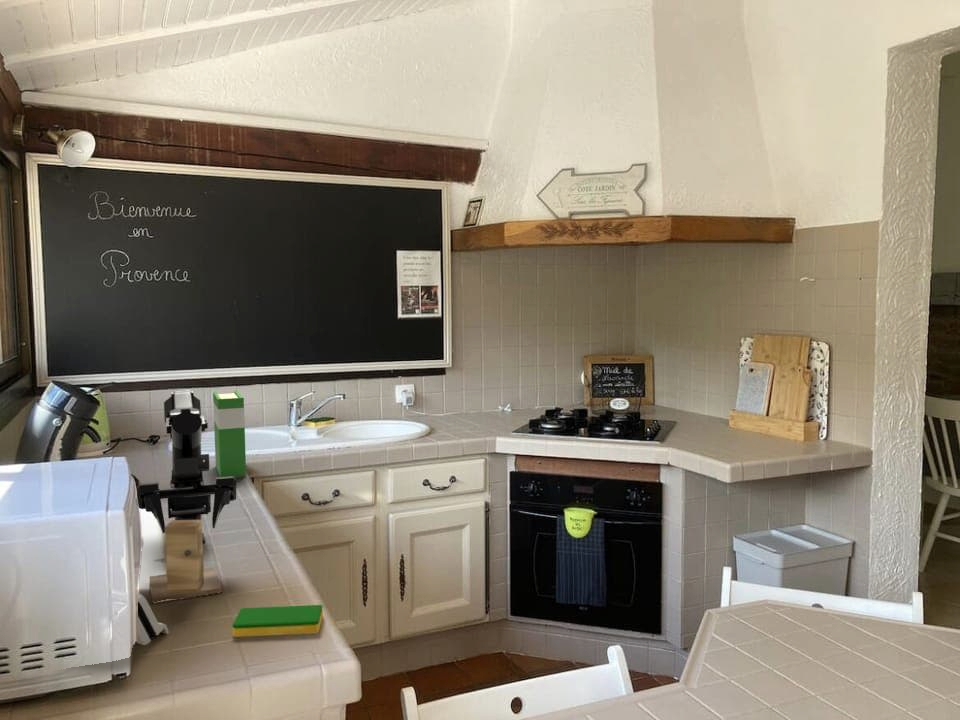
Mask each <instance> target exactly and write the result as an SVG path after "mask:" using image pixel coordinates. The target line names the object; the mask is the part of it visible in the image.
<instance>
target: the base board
mask: <svg viewBox="0 0 960 720" xmlns="http://www.w3.org/2000/svg"><path fill="white" fill-rule="evenodd" d="M203 569H204V582H203V583H202V584H201V586H200V587H199V588H198V589H182V590H168V588H167V573H164V574H159V575H152V576H151V575H150V576H149V583H150V584H149V586H150V585H151V587H150V595H151V594H152V595H151V603H152V602H157V601H161V600H166V599H180V598H187V599H190V598H189V597H193V598H196V597H195V596H199V597H202V596H201V595H206V594H212V595H214V594H213V593H218V594H220V593H219V592H222V593H223V587H222V585H221V581H220V578H219V577H218V574H217V573H218V572H217V570H216V567H208V568H207V567H206V568H203ZM206 596H207V595H206ZM180 600H181V599H180Z"/></svg>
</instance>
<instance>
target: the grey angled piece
mask: <svg viewBox="0 0 960 720" xmlns="http://www.w3.org/2000/svg"><path fill="white" fill-rule="evenodd" d="M137 633H138V642H137V644H138V645H142V646H145V645H146V646H147V645H148V644H150V643H151V642H152V636H153V637H154V636H159V635H160V633H163V634H165V635H168V634H170V631H169V628H168V626H167V624H166V623H162V622H160V621H159V622H158V619H157V618H156V616H155V614H154V612H153V611H152V608H151V606H150V604H149V603H148V600H147V598H146V597H145V596H144V595H143V594H141V593H140V592H138V631H137Z"/></svg>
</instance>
